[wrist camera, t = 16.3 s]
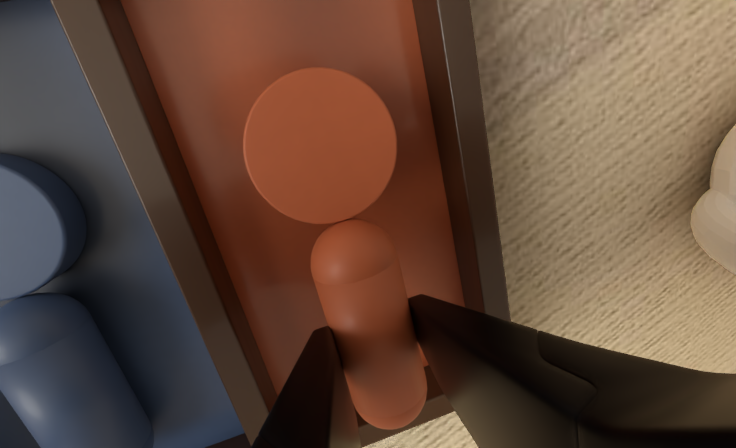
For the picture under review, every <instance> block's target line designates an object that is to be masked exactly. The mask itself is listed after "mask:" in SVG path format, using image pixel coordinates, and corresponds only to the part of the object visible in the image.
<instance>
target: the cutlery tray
mask: <svg viewBox="0 0 736 448" xmlns="http://www.w3.org/2000/svg"><path fill="white" fill-rule="evenodd" d="M311 67H326V68H334V69H337V70H341V71H344V72H347V73H349V74H351V75H354V76H355V77H357V78H359V79H360V80H362V81H363V82H365V83H366V84H367V85H369V86H370V87H371V88H372V89H373V90H374V91H375V92H376V93H377V94H378V95H379V97H380V98H381V99H382V101H383V102H384V104H385V105H386V107H387V109H388V111H389V113H390V115H391V117H392V120H393V123H394V127H395V130H396V137H397V157H396V163H395V168H394V171H393V174H392V176H391V179H390V181H389V183H388V185H387V187H386V188H385V190H384V191H383V193H382V194H381V196H380V197H379V198H378V199H377V200H376V201H375V202H374V203H373V204H372V205H371V206H370V207H369V208H367V209H366V210H364V211H363V212H362V213H360V214H358V215H356V216H354V217H352V218H357V219H364V220H368V221H370V222H373V223H375V224H376V225H378V226H379V227H381V228H382V229H384V230H385V231H386V233H387V234H388V235H389V236H390V238H391V239H392V241H393V243H394V244H395V247H396V250H397V253H398V258H399V262H400V267H401V271H402V275H403V280H404V284H405V288H406V293H407V297H408V298H410V297H413V296H416V295H419V294H424V295H427V296H430V297H433V298H437V299H440V300H443V301H446V302H449V303H453V304H456V305H459V306H462V307H465V308H469V309H472V310H475V311H478V312H481V313H485V314H488V315H491V316H494V317H497V318H501V319H504V320H507V321H510V322H511V319H510V311H509V303H508V296H507V288H506V280H505V272H504V265H503V257H502V249H501V242H500V234H499V226H498V218H497V211H496V203H495V195H494V187H493V180H492V172H491V164H490V157H489V149H488V141H487V133H486V126H485V118H484V110H483V102H482V95H481V87H480V79H479V72H478V64H477V56H476V48H475V41H474V33H473V25H472V18H471V10H470V2H469V0H0V153H2V154H8V155H14V156H17V157H21V158H25V159H27V160H30V161H32V162H35V163H37V164H39V165H41V166H43V167H45V168H46V169H48V170H49V171H51V172H52V173H54V174H55V175H57V176H58V177H59V178H60V179H62V180H63V181H64V182H65V183H66V184H67V185H68V186H69V187H70V189H71V190H72V191H73V193H74V194H75V195H76V197H77V198H78V200H79V202H80V204H81V206H82V208H83V211H84V214H85V218H86V225H87V233H86V240H85V245H84V247H83V250H82V252H81V254H80V255H79V257H78V259H77V260H76V261H75V262H74V264H73V265H72V266H71V267H69V268H68V269H67V270H66V271H65V272H63V273H62V274H60V275H59V276H57V277H56V278H54V279H53V280H52V281H50V282H49V283H47V284H46V285H44V286H43V287H41V288H40V289H38V290H36V291H34V292H32V293H30V294H34V293H44V292H51V293H60V294H64V295H67V296H70V297H72V298H74V299H76V300H77V301H79V302H80V303H81V304H83V305H84V306H85V307H86V309H87V310H88V311H89V313H90V314H91V316H92V318H93V320H94V322H95V323H96V325H97V327H98V329H99V331H100V332H101V334H102V336H103V338H104V340H105V341H106V343H107V345H108V347H109V349H110V350H111V352H112V354H113V356H114V358H115V359H116V361H117V363H118V365H119V367H120V368H121V370H122V372H123V374H124V376H125V377H126V379H127V381H128V383H129V385H130V386H131V388H132V390H133V392H134V394H135V395H136V397H137V399H138V401H139V403H140V404H141V406H142V408H143V410H144V412H145V413H146V415H147V417H148V419H149V421H150V422H151V426H152V428H153V431H154V445H153V448H251V446H252V444H253V442H254V440H255V439H256V437H257V436H258V433H259V431H260V430H261V428H262V426H263V424H264V422H265V420H266V418H267V416H268V415H269V413H270V411H271V409H272V407H273V405H274V403H275V401H276V400H277V398H278V396H279V394H280V392H281V390H282V388H283V386H284V385H285V383H286V381H287V379H288V377H289V375H290V373H291V371H292V370H293V368H294V366H295V364H296V362H297V360H298V358H299V356H300V355H301V353H302V351H303V349H304V347H305V345H306V343H307V341H308V340H309V338H310V336H311V334H312V332H313V331H314V330H316V329H319V328H322V327H325V326H328V324H327V321H326V318H325V314H324V311H323V308H322V305H321V302H320V299H319V296H318V292H317V289H316V286H315V283H314V280H313V277H312V272H311V253H312V249H313V247H314V245H315V242H316V240H317V239H318V237H319V236H320V235H321V233H322V232H323V231H324V230H326V229H327V228H328V227H329V226H331V225H332V224H334V223H330V224H312V223H306V222H302V221H299V220H295V219H293V218H291V217H288V216H286V215H284V214H283V213H281V212H279V211H278V210H276V209H275V208H274V207H273V206H271V205H270V204H269V203H268V202H267V201H266V200H265V199H264V198H263V197H262V196H261V194H260V193H259V192H258V190H257V189H256V187H255V186H254V184H253V182H252V181H251V178H250V176H249V174H248V171H247V168H246V164H245V161H244V154H243V135H244V128H245V124H246V120H247V117H248V115H249V113H250V110H251V108H252V106H253V105H254V103H255V101H256V100H257V98H258V97H259V96H260V95H261V93H262V92H263V91H264V90H265V89H266V88H267V87H268V86H269V85H270V84H272V83H273V82H274V81H276V80H277V79H279V78H280V77H282V76H284V75H286V74H288V73H290V72H293V71H296V70H300V69H304V68H311ZM352 218H350V219H352ZM28 295H29V294H28ZM15 299H16V298H15ZM12 300H14V299H11V300H4V301H0V307H2V306H4V305H5V304H7V303H8V302H10V301H12ZM418 345H419V343H418ZM419 349H420V354H421V358H422V362H423V367H424V371H425V375H426V381H427V395H426V401H425V404H424V406H423V408H422V410H421V412H420V413H419V415H418V416H417V417H416V418H415V419H414V420H413V421H412V422H411V423H409V424H408V425H406V426H404V427H402V428H398V429H393V430H388V429H381V428H377V427H375V426H373V425H371V424H369V423H368V422H366V421H365V420H364V419H363V418H362V417H361V416H360V414H359V413H358V412H357V411H356V409H355V407H354V409H355V413H356V417H357V423H358V428H359V435H360V442H361V448H362V447H365V446H367V445H370V444H372V443H375V442H377V441H380V440H382V439H385V438H387V437H390V436H393V435H395V434H398V433H400V432H403V431H405V430H408V429H410V428H413V427H415V426H418V425H421V424H423V423H426V422H428V421H431V420H433V419H436V418H438V417H441V416H443V415H446V414H449V413H451V412H454V411H455V410H454V408H453V407H452V405H451V404H450V402H449V401H448V399H447V398H446V396H445V394H444V393H443V391H442V389H441V388H440V386H439V384H438V382H437V380H436V378H435V376H434V374H433V372H432V370H431V368H430V366H429V364H428V362H427V360H426V358H425V356H424V354H423V351H422V349H421V347H420V345H419ZM353 405H354V404H353ZM0 448H41V447H40V446H39V444H38V443H37V442H36V440H35V439H34V437H33V436H32V434H31V433H30V432H29V430H28V429H27V427H26V426H25V424H24V423H23V422H22V420H21V419H20V417H19V416H18V414H17V413H16V412H15V410H14V409H13V407H12V406H11V404H10V403H9V402H8V400H7V399H6V397H5V396H4V394H3V393H2V392H1V390H0Z"/></svg>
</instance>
